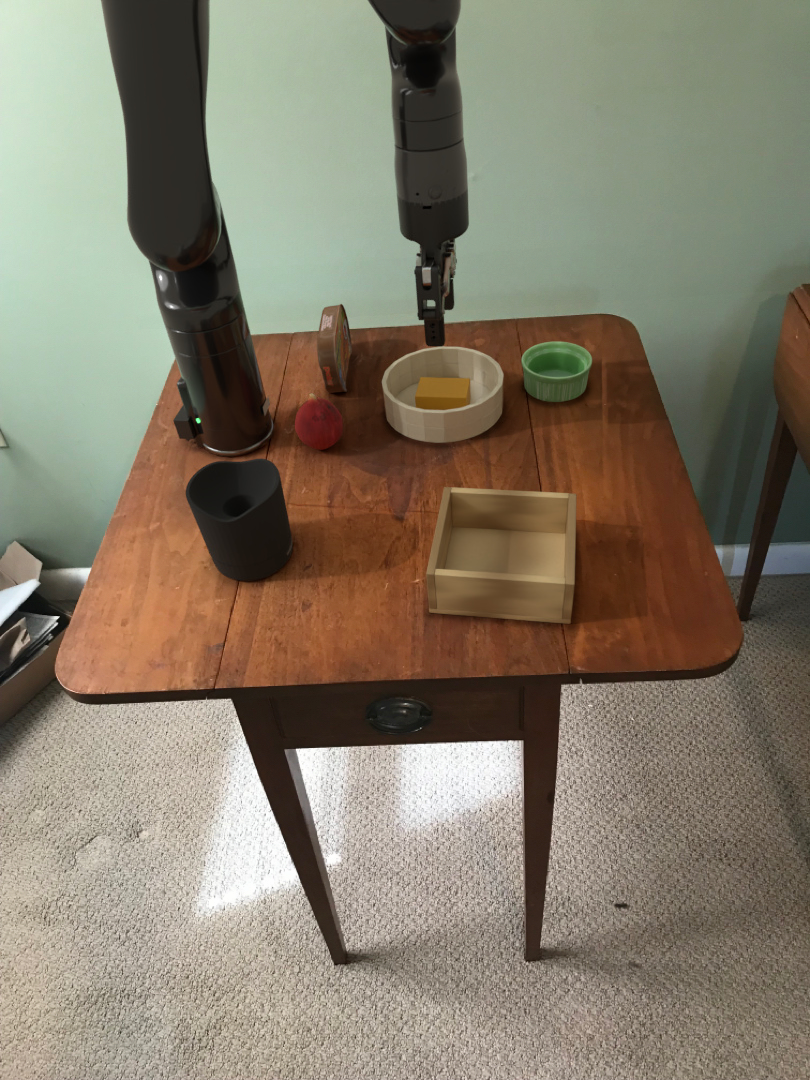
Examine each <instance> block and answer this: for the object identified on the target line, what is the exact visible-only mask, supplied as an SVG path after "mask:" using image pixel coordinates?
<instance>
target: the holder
mask: <svg viewBox="0 0 810 1080" xmlns="http://www.w3.org/2000/svg"><path fill="white" fill-rule="evenodd" d="M577 499H578V498H577V493H568V492H554V491H552V492H550V491H536V490H535V491H532V490H514V489H495V488H474V487H454V486H453V487H451V486H444V487H443V490H442V495H441V501H440V505H439V510H438V515H437V519H436V524H435V529H434V533H433V538H432V543H431V549H430V553H429V557H428V562H427V567H426V572H425V577H426V589H427V598H428V599H427V601H428V611H429V613H430V614H439V615H440V614H442V615H453V616H465V617H478V618H491V619H501V620H515V621H516V620H517V621H528V622H540V623H541V622H542V623H552V624H565V625H567V624H568V625H570V624H571V623H572V614H573V605H574V596H575V586H576V548H577V547H576V544H577V543H576V541H577V540H576V539H577V501H578V500H577Z"/></svg>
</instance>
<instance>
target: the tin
mask: <svg viewBox="0 0 810 1080" xmlns="http://www.w3.org/2000/svg"><path fill="white" fill-rule="evenodd" d="M349 324H350V323H349V319H348V315H347V311H346V308H345V307H344V304H342V303H339V304H335V305H329V306H328V305H327V306H325V307H323V309H322V312H321V316H320V321H319V326H318V331H317V332H318V333H317V338H316V353H317V362H318V366H319V369H320V372H321V375H322V379H323V383H324V389H325V391H326V392H327V393H329V394H332V393H343V392H344V393H348V389H347V388H346V382H347V377H348V370H349V363H350V357H351V354H352V353H353V345H352V344H353V343H352V336H351V335H352V334H351V330H350V325H349Z"/></svg>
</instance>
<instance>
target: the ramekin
mask: <svg viewBox="0 0 810 1080" xmlns="http://www.w3.org/2000/svg"><path fill="white" fill-rule="evenodd" d="M520 360H521V367H522V370H523V371H522V372H523V385H524V389H525V391H526V392H527V394H529V396H531V397H532V398H534V399H537V400H539V401H543V402H550V403H561V402H566V401H567V402H568V401H571V400H574V399H576V398H578V397H580V396H582V394H583V393H584V392H585V391H586V389H587V386H588V385H587V384H588V379H589V374H590V371H591V368H592V364H593V356H592V355H591V353H590V352H589V350H588V349H586V348H585V347H583V346H581V345H579V344H577V343H572V342H567V341H546V342H541V343H538V344H535V345H533V346H531V347H529V348H528V349H527V350H525V351H524V352H523V354H522V356H521V359H520Z"/></svg>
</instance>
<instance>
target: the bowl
mask: <svg viewBox="0 0 810 1080" xmlns="http://www.w3.org/2000/svg"><path fill="white" fill-rule="evenodd" d="M420 377H434V378H470V392H471V398H470V403H469V405H467V406H465V407H462V408H455V409H448V410H425V409H420V408H416V404H415V395H416V391H417V388H418V384H419V381H420ZM504 380H505V374H504V371H503V369H502V367H501V365H500V363H499V362H498V361H496V360H495V359H494V358H493V357H492V356H490V355H489V354H486V353H483V352H482V351H479V350H477V349H472V348H467V347H463V346H444V345H443V346H441V347H427V348H422V349H419V350H416V351H413V352H410V353H407V354H405V355H404V356H402V357H399V358H398V359H397V360H395V361H393V362H392V364H390V365H389V366H388V367H387V368H386V370H385V371H384V373H383V376H382V379H381V389H382V396H383V406H384V413H385V417H386V421H387V422H388V424H389V425H390V426H391V427H392V428H393V430H395V431H396V432H398V433H399V434H401V435H402V436H404V437H407V438H410V439H412V440H415V441H418V442H419V441H420V442H424V443H433V444H434V443H435V444H437V443H438V444H439V443H440V444H444V443H445V444H446V443H455V442H460V441H465V440H468V439H471V438H474V437H477V436H479V435H481V434H483V433H485V432H486V431H488V430H489V429H490V428H492V427H493V426H494V425H495V424H496V423H497V422H498V420H499V419H500V417H501V416H502V414H503V409H504V392H505V391H504V385H505V383H504V382H505V381H504Z"/></svg>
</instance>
